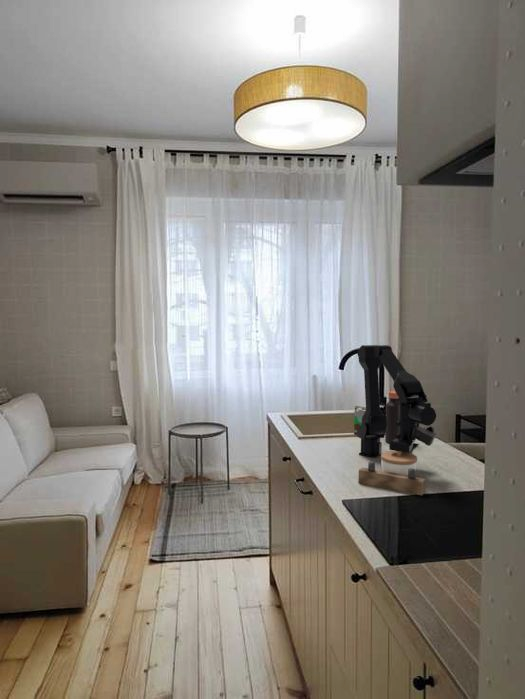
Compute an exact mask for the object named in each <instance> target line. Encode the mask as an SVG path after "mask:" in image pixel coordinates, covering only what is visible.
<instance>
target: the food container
mask: <svg viewBox="0 0 525 699" xmlns="http://www.w3.org/2000/svg"><path fill="white" fill-rule="evenodd" d="M365 411H366V406H360V405H354V412H353V413H354V414H353V415H354V418H353V419H354V420H353V434H354V435H357V430H358V429H359V427H360V426H361V424H362V417H363V415H364V413H365Z"/></svg>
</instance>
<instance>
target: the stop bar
mask: <svg viewBox="0 0 525 699" xmlns="http://www.w3.org/2000/svg"><path fill="white" fill-rule="evenodd" d="M367 462H368V466H367V467H363V466H362V467H360V468H359V469H358V481H357V482H358V484H363V485H368V486H373V487H378V488H382V489H387V490H393V491H398V492H403V493H409V494H412V495H418V496H424V494H425V492H426V478H425V477H424V478H423V477H418V476H416V471H415V469H412V468H409V469H408V476H407V475H402V474H396V473H391V472H385V471H382V470H379V469H376V462H375V461H367Z"/></svg>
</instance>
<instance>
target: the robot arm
mask: <svg viewBox="0 0 525 699" xmlns="http://www.w3.org/2000/svg"><path fill="white" fill-rule="evenodd" d="M357 357H358V364H359V365H360V366H361V368H362V369H363V376H364V377H363V378H364V394H365V395H364V397H365V398H364V400H365V407H366V411H365V413H364V415H363V417H362V424H361V426H360V427H359V429H358V430H357V434H356V437H357V438H359V439H360V452H359V453H358V455H359V456H366V457H372V458H377V457H379V456H381V454H382V453H383V452H382V448H383V446H382V445H383V444H382V441H381V439H385V433H386V429H387V423H386V414H383V412H382V410H381V401H380V398H381V397H380V384H379V383H380V382H379V369H380V367H381V365H383V367H384V368H385V370H386V371H387V372H388V375H389V376H390V377H391V378H392V382H393V384H392V387H393V389H394V391H396V394H397V395H398V397H399V398H397V399H396V400H395V402H397V403H399V419H398V422H397V425H398V434H397V435H396V438H400V439H394V440H393V441H392V442H391V443H388V448H389V449H388V450H389V451H400V452H408V453H411V454H413V452H414V450H416V448H417V447H418V446H420V444H419V443H416V442H415V441H416V440H417V441H418V442H421V443H423V444H424V445H426V446H428V447H429V446H432V444H433V443H434V441H435V438H436V437H437V436H436V435H437V433H436V432H435V428H434V427H433V426H432V425H433V424H434V423H435V421H436V418H437V413H436V410H435V408H433V407H431V406H432V403H431V402H428V398H427V395H426V393H425V391H424V388H423V386H422V384H421V381H420V380H418V378H417V377H416V376H415V375H413V374H411V373H409V372H408V371H407V370H406V369H405V367H404V365H402V363H401V362H400V360H399V359H398V358H397V356H396V355H395V353H394V352H393V349H392V347H391V345H389V344H385V345H384V344H383V345H381V344H379V345H378V344H367V345H361V346H359V348H358V349H357ZM420 425H424V426H425V427H426V426H428V427H426V428H425V427H422V426H420Z"/></svg>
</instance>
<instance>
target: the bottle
mask: <svg viewBox="0 0 525 699" xmlns="http://www.w3.org/2000/svg"><path fill="white" fill-rule="evenodd" d="M397 398H399V397H398V395H397V394H396V391H395V390H394V391H393V390H392V391H391V390H390V391H388V399H389V401H388V402H386V404H385V415H386V423H387V429H386V433H385V436H384V442H385V443H387V444H389V443H391V442H392V441H393V440H394V439H400V438H396V435H397V434H398V425H397V422H398V419H399V403H397V402H395V400H396V399H397Z"/></svg>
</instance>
